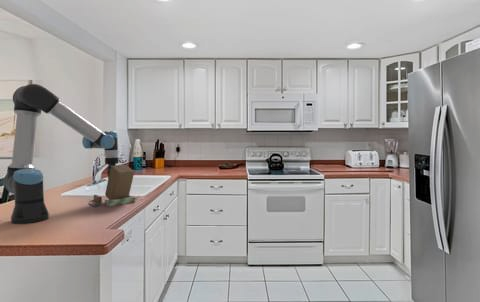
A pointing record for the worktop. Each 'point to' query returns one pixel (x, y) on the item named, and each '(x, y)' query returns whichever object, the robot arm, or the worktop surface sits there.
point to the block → (119, 182)
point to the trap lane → (112, 201)
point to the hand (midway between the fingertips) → (113, 196)
